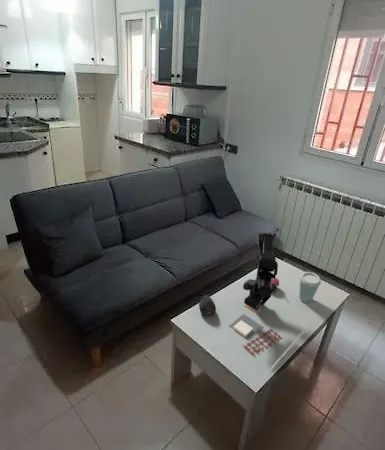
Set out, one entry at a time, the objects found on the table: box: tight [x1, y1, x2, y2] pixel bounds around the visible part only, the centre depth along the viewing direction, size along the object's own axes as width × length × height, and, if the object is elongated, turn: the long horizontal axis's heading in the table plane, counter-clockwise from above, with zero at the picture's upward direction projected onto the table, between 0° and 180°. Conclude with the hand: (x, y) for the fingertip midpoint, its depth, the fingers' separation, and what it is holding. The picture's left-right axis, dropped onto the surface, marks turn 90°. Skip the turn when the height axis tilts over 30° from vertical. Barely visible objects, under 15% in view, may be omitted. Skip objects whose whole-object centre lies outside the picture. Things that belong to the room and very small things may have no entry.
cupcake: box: [271, 277, 280, 288], centre depth 172 cm, size 9×8×12 cm
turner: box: [244, 301, 263, 314], centre depth 145 cm, size 4×8×6 cm, turn 46°
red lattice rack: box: [242, 328, 283, 358], centre depth 139 cm, size 7×19×2 cm, turn 126°
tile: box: [232, 320, 253, 338], centre depth 145 cm, size 2×7×6 cm
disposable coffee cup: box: [298, 271, 322, 304], centre depth 165 cm, size 11×11×15 cm
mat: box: [228, 313, 265, 342], centre depth 147 cm, size 12×12×1 cm
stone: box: [198, 294, 217, 316], centre depth 152 cm, size 8×8×10 cm
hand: (258, 308), depth 144 cm, fingers closed on turner, 3 cm apart
